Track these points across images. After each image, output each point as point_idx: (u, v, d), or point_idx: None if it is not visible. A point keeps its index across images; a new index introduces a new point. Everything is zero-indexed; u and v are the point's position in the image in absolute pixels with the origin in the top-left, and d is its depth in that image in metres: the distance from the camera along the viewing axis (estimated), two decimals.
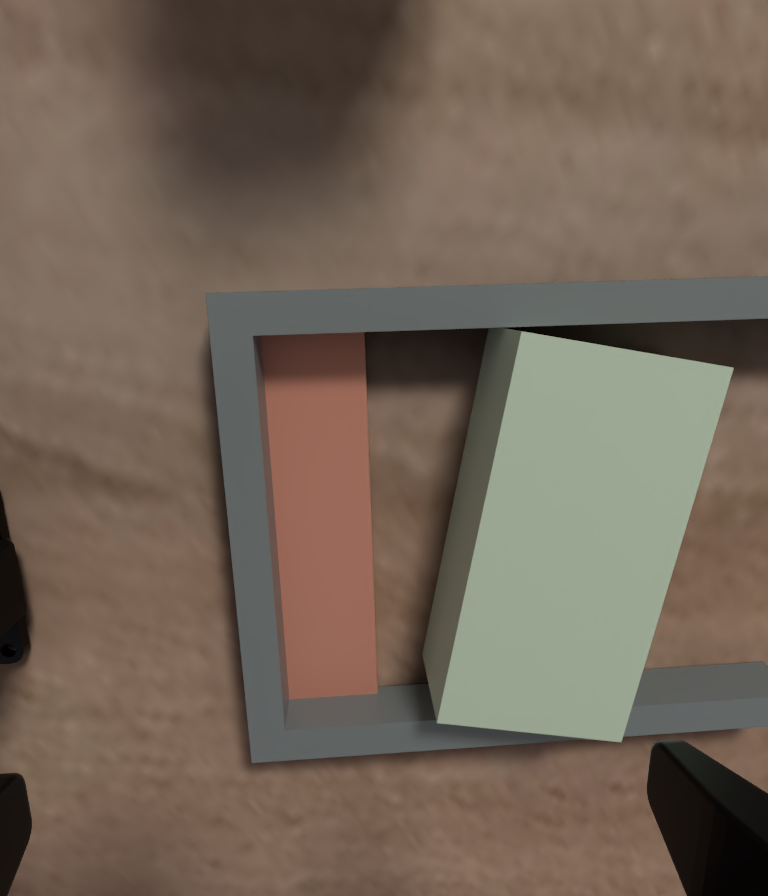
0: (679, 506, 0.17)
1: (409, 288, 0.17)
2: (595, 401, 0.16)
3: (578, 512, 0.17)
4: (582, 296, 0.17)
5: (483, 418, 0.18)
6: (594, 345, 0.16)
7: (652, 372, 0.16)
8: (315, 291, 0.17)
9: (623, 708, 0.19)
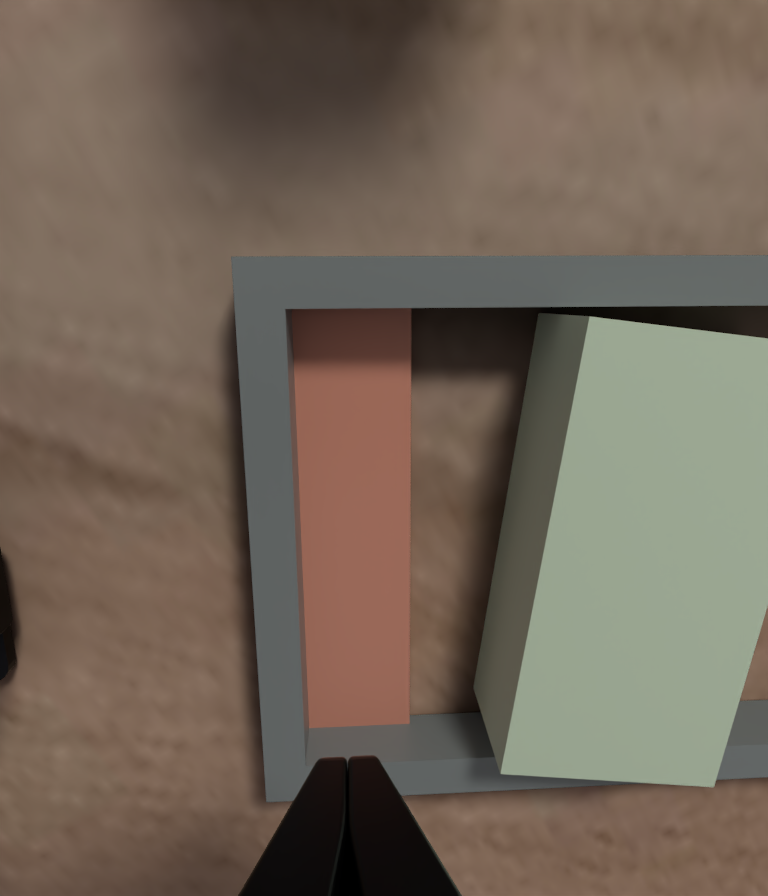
0: None
1: (471, 257, 0.14)
2: (678, 396, 0.14)
3: (660, 526, 0.14)
4: (672, 272, 0.15)
5: (539, 420, 0.16)
6: (676, 329, 0.13)
7: (746, 358, 0.14)
8: (360, 258, 0.14)
9: (715, 748, 0.16)
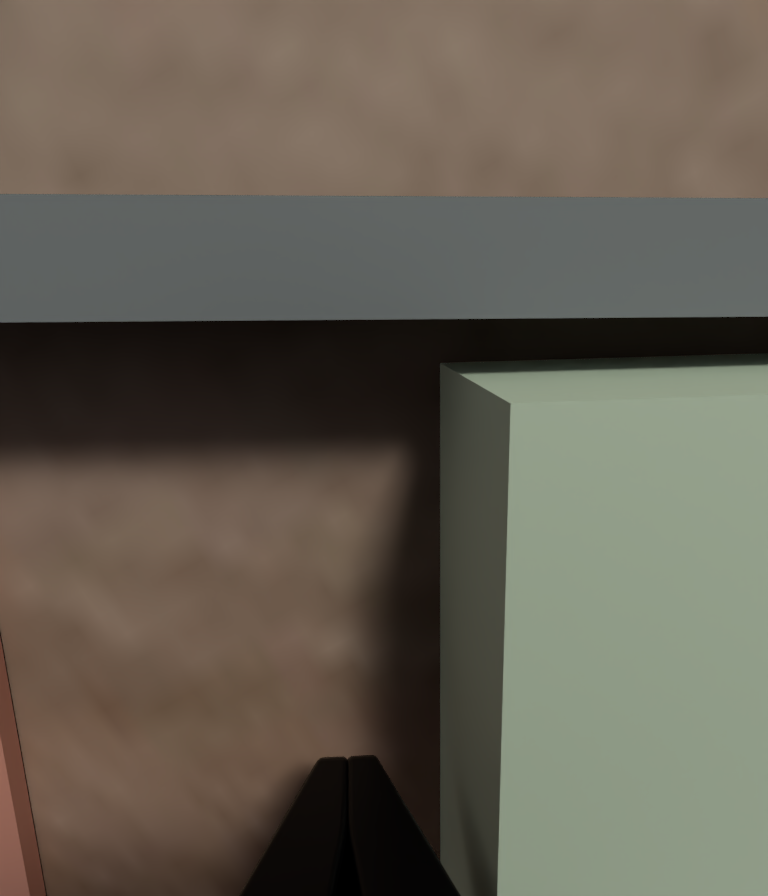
0: None
1: None
2: (765, 556, 0.05)
3: (754, 835, 0.06)
4: (444, 239, 0.06)
5: (460, 592, 0.08)
6: (742, 400, 0.05)
7: None
8: None
9: None
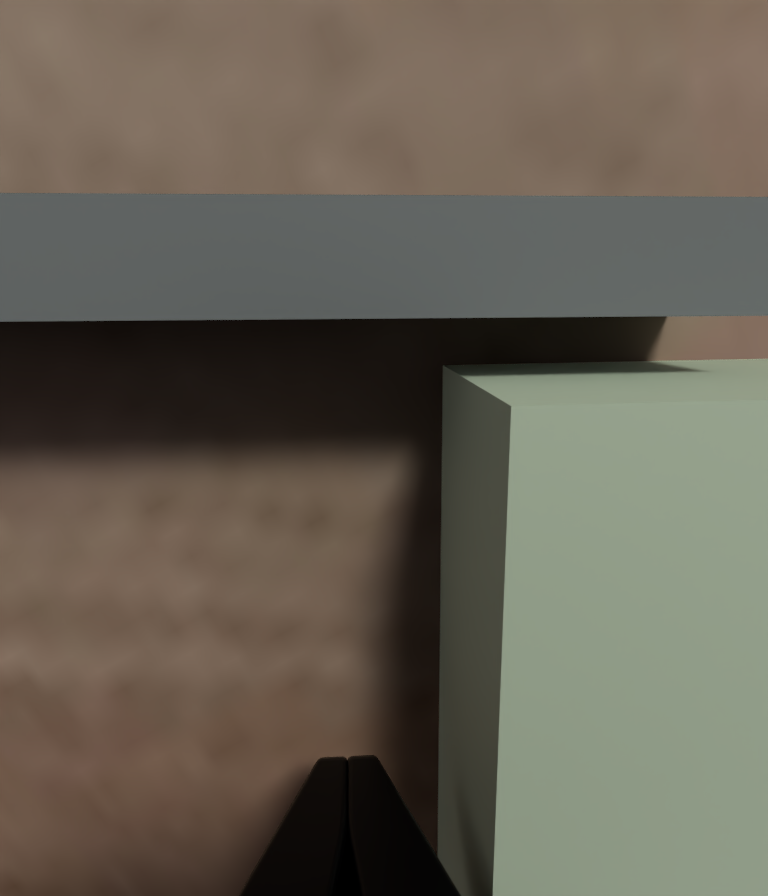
0: None
1: None
2: (759, 560, 0.06)
3: (748, 833, 0.06)
4: None
5: (459, 592, 0.08)
6: (739, 405, 0.05)
7: None
8: None
9: None
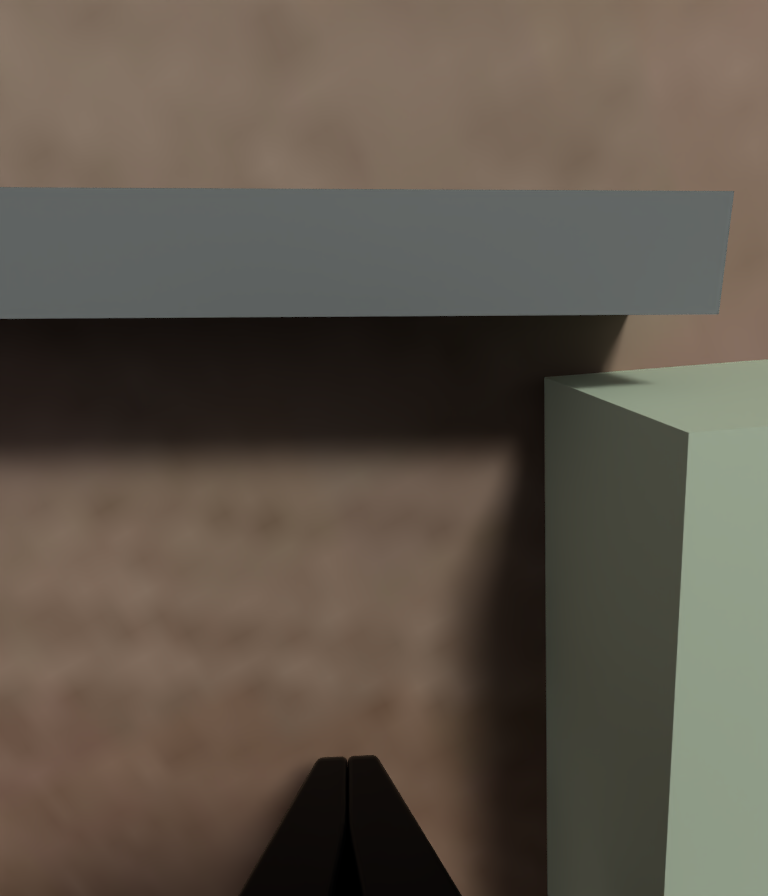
0: None
1: None
2: None
3: None
4: None
5: (588, 614, 0.07)
6: None
7: None
8: None
9: None
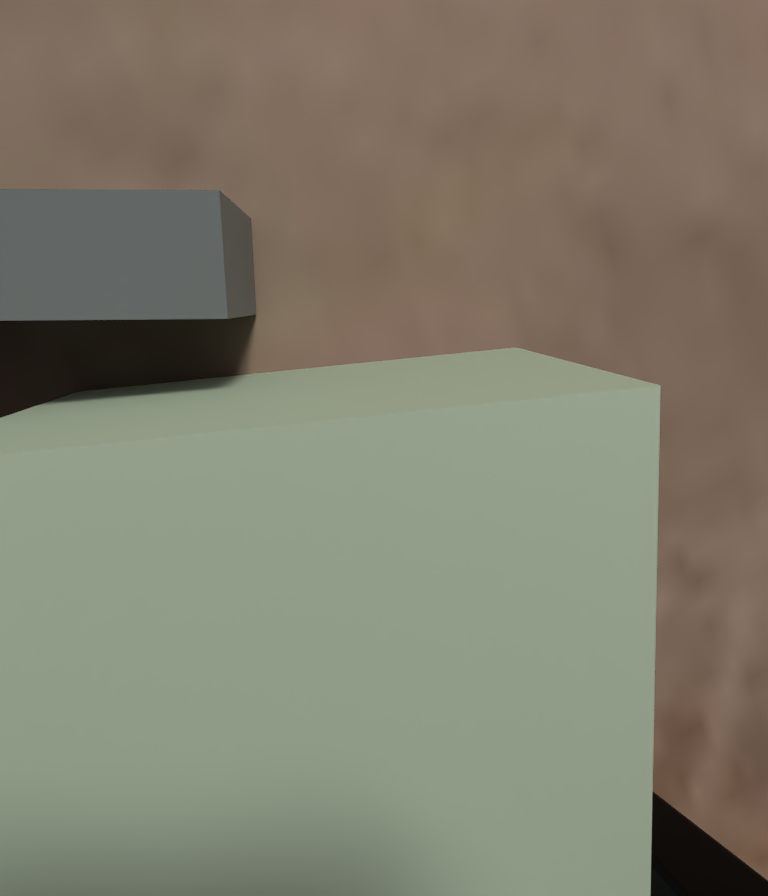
0: (612, 827, 0.06)
1: None
2: (217, 620, 0.05)
3: None
4: None
5: None
6: (130, 446, 0.04)
7: (374, 479, 0.05)
8: None
9: None
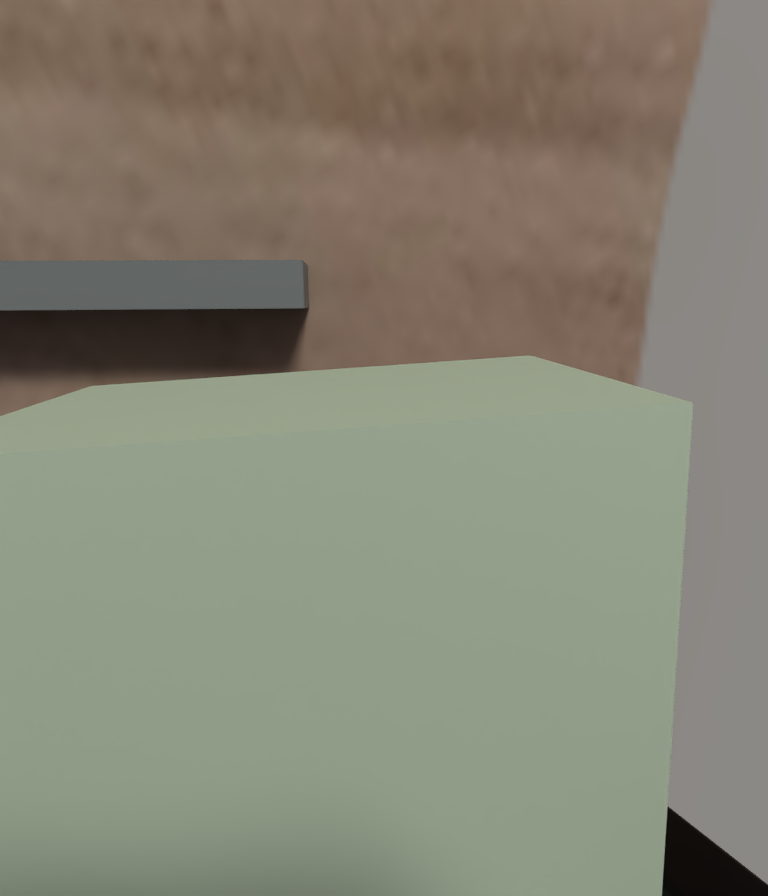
0: (624, 850, 0.05)
1: None
2: (231, 628, 0.05)
3: None
4: None
5: None
6: (148, 449, 0.04)
7: (398, 491, 0.04)
8: None
9: None
